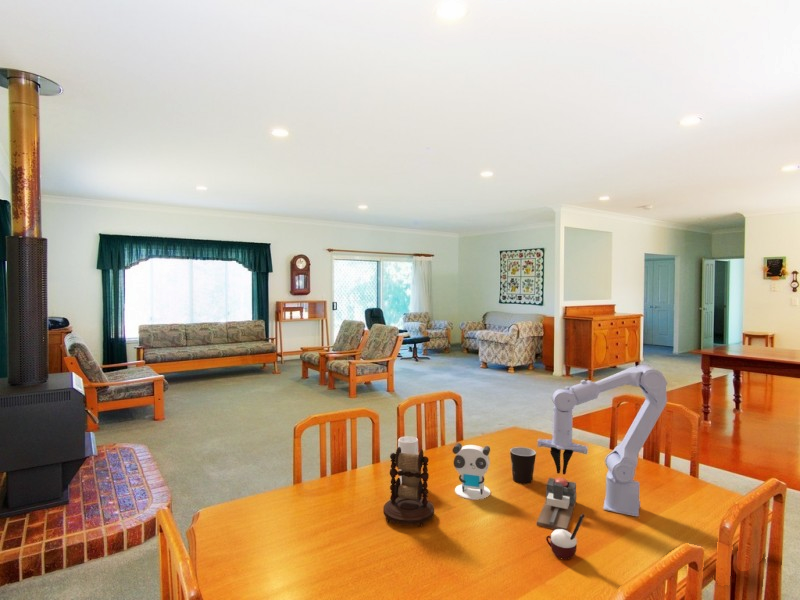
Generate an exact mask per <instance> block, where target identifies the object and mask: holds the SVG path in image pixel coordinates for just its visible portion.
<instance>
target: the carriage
mask: <svg viewBox="0 0 800 600" xmlns="http://www.w3.org/2000/svg"><path fill="white" fill-rule="evenodd" d="M545 502H546V505H550V506H555V507H560V508H564V509H568V507H569V504H570V497H568V496H563V483H558V482H555V483H554V488H553V493H549V494H548V496H547V501H546V500H545Z"/></svg>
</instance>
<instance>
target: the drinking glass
mask: <svg viewBox="0 0 800 600" xmlns="http://www.w3.org/2000/svg"><path fill="white" fill-rule="evenodd" d="M398 447H400V448H401V453H408V454H417V455H419V439H418V438H417V437H415V436H411V435H410V436H408V435H406V436H405V435H404V436H401V437H399V438H398V440H397V448H398ZM399 471H401V469H399ZM399 478H400V482H401V485H402V476H399Z"/></svg>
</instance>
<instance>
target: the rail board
mask: <svg viewBox="0 0 800 600" xmlns="http://www.w3.org/2000/svg"><path fill="white" fill-rule="evenodd" d="M555 479H556V478H551V477H549V478H548V480H547V482H546V484H545V488H546V489H545V501H544V505H543V507H542V509H541V511H540V513H539V516H538V518H537V520H536V526H538V527H542V528H548V529H552V530H556V529H563V530H566V531H568V529H569V525H570V522H571V520H572V515H573V512H574V509H575V505H576V503H577V482H574V481H569V480H567V481H568V484H567V488H566V487H563V496H568V497H570V504H569V507H568V509H564V508H560V507H555V506H550V505H546V501H547V496H548V494H549V493H553V488H554V483H555Z"/></svg>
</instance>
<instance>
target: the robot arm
mask: <svg viewBox="0 0 800 600" xmlns="http://www.w3.org/2000/svg"><path fill="white" fill-rule="evenodd" d="M579 382H580V383H577V384H574V385H571V386H569V385H567V386H565V388H558V389H556V390H555V391H554V392H553V393H552V396H551V401H552V403H553V411H552V438H551V439H546V438H545V439H544V438H538V439H537V441H536V442H537V443H536V445H537V448H550V455H551V456H552V457H551V458H552V459H553V462H554V464H555V468H556V474H560V472H561V452H562V451H563V452H562V457H563V458H562V459H563V461H562V463H563V466H562V475H566V474H567V468H568V464H569V462H570V459H571V457H572V456H573V453H574V452H575V453H580V454H583V455H588V450H589V448H588V447H589V446H588V445H582V444H578V443H575V442H573V418H574V417H573V409H574V407H575V406H579V405H581V404H585V403H587V402H590V401H593V400H595V399H596V400H597V399H598V397H599V395H600V393H602V392H606V391H610V390H614V389H616V388H619V387H624V386H626V385H627V386H630V387H631V386H632V387H636V388H640V390H641V391H642V394H643V396H644V398H645V399H644V401H643V403H642V405H641V407H640V408H639V410H638V412H637V414H636V416H635V417H634V420H633V421H632V423H631V425H630V427H629V428H628V430H627V431H626V434H625V436H624V437H623V439H622V441H621V443H620V444H618V445H616V446H615V447H614V449H613V450H611V452H610V453H608V454H607V455H606V456H605V458H604V462H605V466H606V468H607V469H608V471H607V473H606V475H605V476H606V477H605V480H606V481H605V498H604V502H603V507H602V508H603V510H604V511H608V512H613V513H617V514H623V515H628V516H633V517H640V513H639V512H640V508H641V500H640V489H641V487H640V485H641V483H640V481H636V480H634V478H635V476H636V468H637V466H638V463H639V461H638V458H639V456H638V455H639V453H640V451H641V450H642V448H643V446H644V445H645V443H646V441H647V440H648V437H649V436H650V434H651V432H652V430H653V429H654V427H655V425H656V423H657V421H658V420H659V418H660V416H661V414H662V413H663V411H664V410H665V407H666V406H667V403H668V397H667V386H668V381H667V380H666V378H665V376H664V375H663V373H662V372H661V371H660V370H657V369H655V368H653V367H652V366H650V365H649V364H645V363H642V364H638V365H636V366H630V367H628V368H626V369H623V370H622V371H619V372H617V373H615V374H611V375H609V376H606V377H605V378H602V379H599V380H597V381H591V380H589V379H587V380H585V379H582V380H580V381H579Z"/></svg>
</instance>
